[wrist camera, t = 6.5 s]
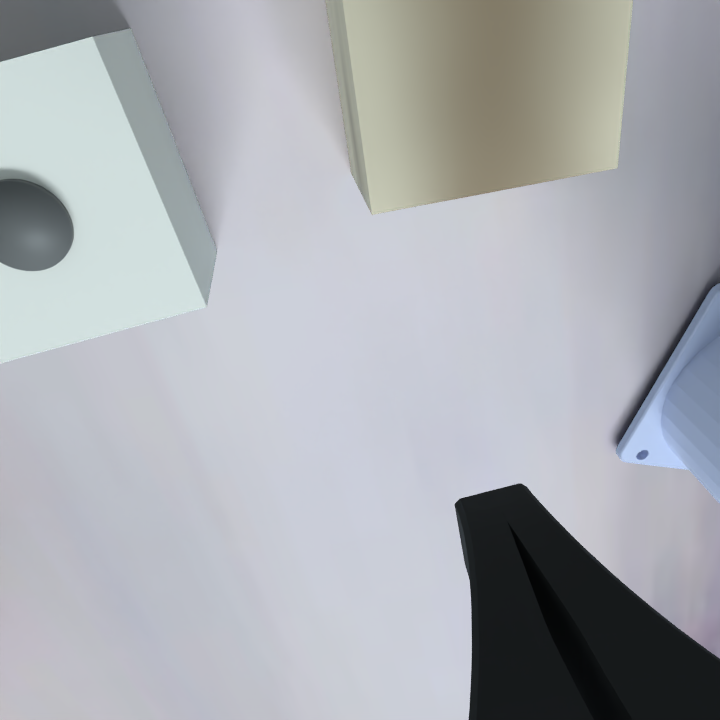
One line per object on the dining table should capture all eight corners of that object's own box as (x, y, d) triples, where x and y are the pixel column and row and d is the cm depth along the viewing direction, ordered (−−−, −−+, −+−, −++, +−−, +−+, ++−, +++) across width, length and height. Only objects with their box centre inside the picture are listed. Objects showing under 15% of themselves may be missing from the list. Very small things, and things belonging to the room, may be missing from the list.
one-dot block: (131, 27, 15) (89, 37, 11) (217, 248, 18) (206, 310, 14) (-100, 91, 15) (-217, 121, 11) (27, 301, 18) (-32, 375, 14)
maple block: (556, -123, 14) (647, -161, 11) (549, 135, 17) (617, 168, 14) (312, -82, 14) (327, -107, 11) (350, 172, 17) (371, 214, 14)
